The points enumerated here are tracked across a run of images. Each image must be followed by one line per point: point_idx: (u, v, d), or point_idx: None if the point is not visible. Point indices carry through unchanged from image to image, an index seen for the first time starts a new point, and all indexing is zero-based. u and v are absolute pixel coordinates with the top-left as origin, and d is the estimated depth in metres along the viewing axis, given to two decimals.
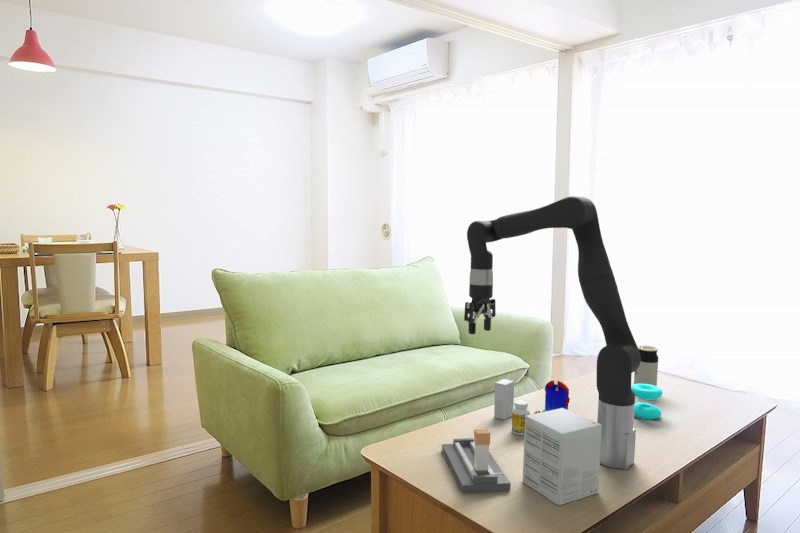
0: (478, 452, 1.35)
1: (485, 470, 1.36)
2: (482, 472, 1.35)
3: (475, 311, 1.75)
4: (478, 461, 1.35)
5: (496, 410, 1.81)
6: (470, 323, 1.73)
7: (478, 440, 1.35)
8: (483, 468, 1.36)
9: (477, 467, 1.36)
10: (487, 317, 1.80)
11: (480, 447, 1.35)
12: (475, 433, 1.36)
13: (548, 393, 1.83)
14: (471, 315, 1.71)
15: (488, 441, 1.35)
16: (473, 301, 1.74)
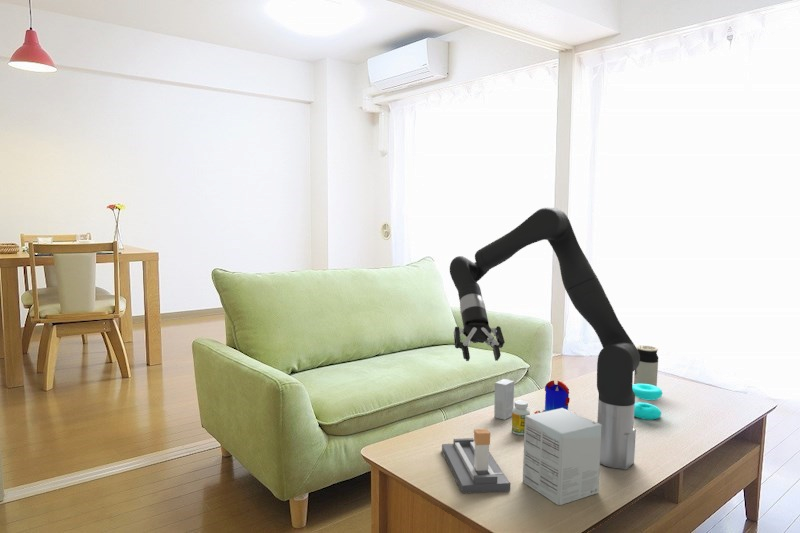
0: (478, 452, 1.35)
1: (485, 470, 1.36)
2: (482, 472, 1.35)
3: None
4: (478, 461, 1.35)
5: (496, 410, 1.81)
6: (462, 348, 1.56)
7: (478, 440, 1.35)
8: (483, 468, 1.36)
9: (477, 467, 1.36)
10: (494, 345, 1.58)
11: (480, 447, 1.35)
12: (475, 433, 1.36)
13: (548, 393, 1.83)
14: (458, 338, 1.57)
15: (488, 441, 1.35)
16: (464, 328, 1.61)
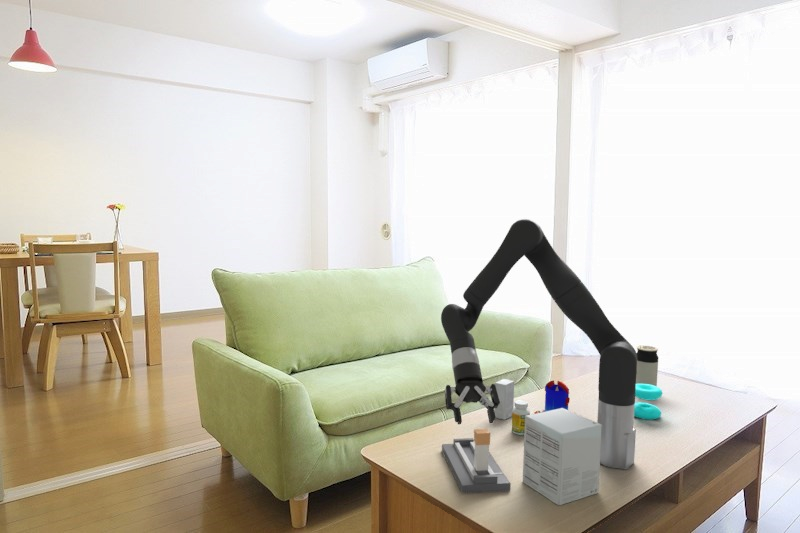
0: (478, 452, 1.35)
1: (485, 470, 1.36)
2: (482, 472, 1.35)
3: None
4: (478, 461, 1.35)
5: (496, 410, 1.81)
6: (453, 410, 1.43)
7: (478, 440, 1.35)
8: (483, 468, 1.36)
9: (477, 467, 1.36)
10: (488, 406, 1.45)
11: (480, 447, 1.35)
12: (475, 433, 1.36)
13: (548, 393, 1.83)
14: (449, 398, 1.44)
15: (488, 441, 1.35)
16: (456, 386, 1.48)
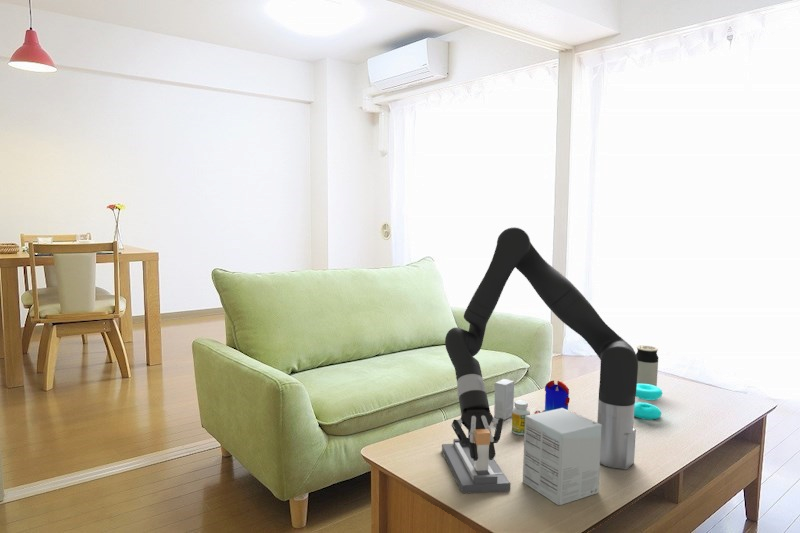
0: (478, 452, 1.35)
1: (485, 470, 1.36)
2: (482, 472, 1.35)
3: None
4: (478, 461, 1.35)
5: (496, 410, 1.81)
6: (469, 445, 1.36)
7: (478, 440, 1.35)
8: (483, 468, 1.36)
9: (477, 467, 1.36)
10: None
11: (480, 447, 1.35)
12: (475, 433, 1.36)
13: (548, 393, 1.83)
14: (462, 433, 1.37)
15: (488, 441, 1.35)
16: (461, 417, 1.41)
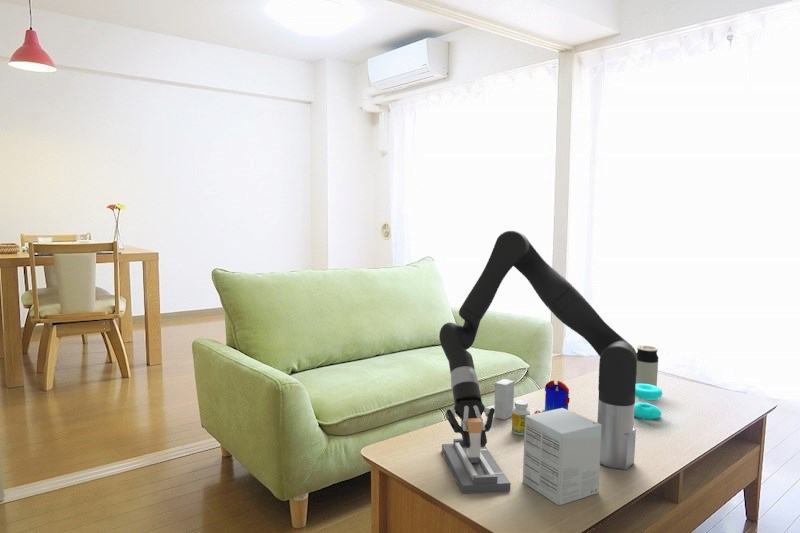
0: (470, 440, 1.43)
1: (477, 457, 1.43)
2: (474, 459, 1.43)
3: None
4: (470, 448, 1.43)
5: (496, 410, 1.81)
6: (462, 433, 1.44)
7: (470, 428, 1.42)
8: (475, 455, 1.43)
9: (469, 454, 1.43)
10: None
11: (472, 435, 1.42)
12: (467, 422, 1.43)
13: (548, 393, 1.83)
14: (455, 422, 1.44)
15: (480, 429, 1.42)
16: (454, 407, 1.49)
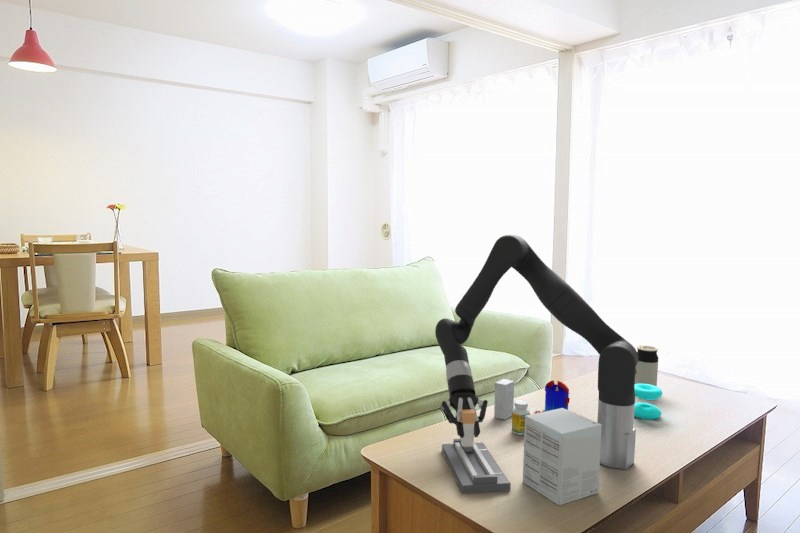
0: (464, 430, 1.49)
1: (471, 446, 1.49)
2: (468, 448, 1.49)
3: None
4: (464, 438, 1.49)
5: (496, 410, 1.81)
6: (456, 424, 1.50)
7: (464, 419, 1.49)
8: (469, 444, 1.50)
9: (463, 444, 1.49)
10: None
11: (466, 426, 1.49)
12: (462, 413, 1.50)
13: (548, 393, 1.83)
14: (450, 413, 1.51)
15: (473, 420, 1.49)
16: (449, 399, 1.55)
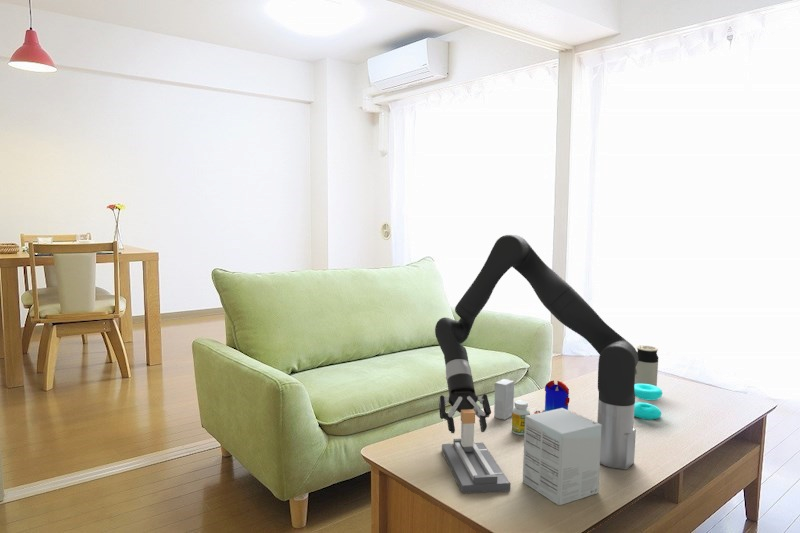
0: (464, 430, 1.49)
1: (471, 446, 1.50)
2: (468, 448, 1.49)
3: None
4: (464, 438, 1.49)
5: (496, 410, 1.81)
6: (447, 419, 1.51)
7: (464, 419, 1.49)
8: (469, 444, 1.50)
9: (463, 444, 1.49)
10: (480, 416, 1.53)
11: (466, 426, 1.49)
12: (461, 413, 1.50)
13: (548, 393, 1.83)
14: (443, 408, 1.52)
15: (473, 420, 1.49)
16: None
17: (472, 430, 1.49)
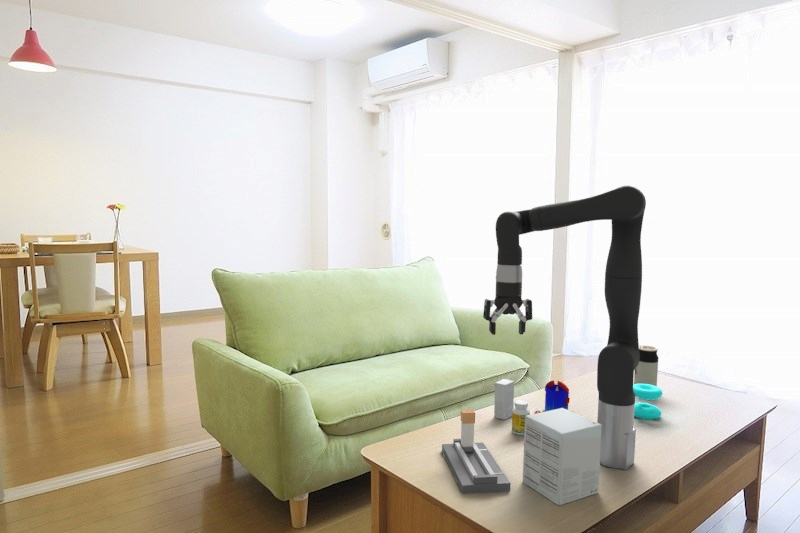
0: (464, 430, 1.49)
1: (471, 446, 1.50)
2: (468, 448, 1.49)
3: (499, 310, 1.60)
4: (464, 438, 1.49)
5: (496, 410, 1.81)
6: (490, 322, 1.60)
7: (464, 419, 1.49)
8: (469, 444, 1.50)
9: (463, 444, 1.49)
10: (521, 319, 1.61)
11: (466, 426, 1.49)
12: (461, 413, 1.50)
13: (548, 393, 1.83)
14: (488, 313, 1.59)
15: (473, 420, 1.49)
16: (495, 299, 1.60)
17: (472, 430, 1.49)
